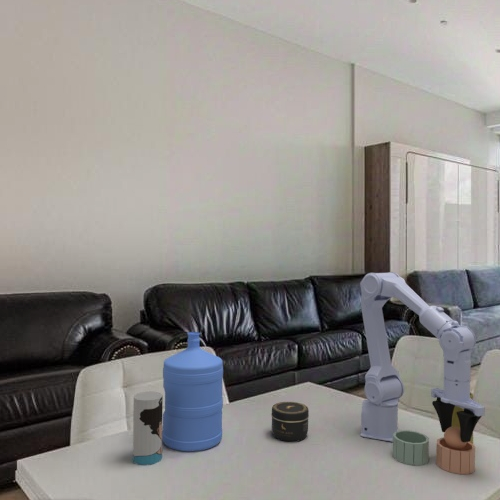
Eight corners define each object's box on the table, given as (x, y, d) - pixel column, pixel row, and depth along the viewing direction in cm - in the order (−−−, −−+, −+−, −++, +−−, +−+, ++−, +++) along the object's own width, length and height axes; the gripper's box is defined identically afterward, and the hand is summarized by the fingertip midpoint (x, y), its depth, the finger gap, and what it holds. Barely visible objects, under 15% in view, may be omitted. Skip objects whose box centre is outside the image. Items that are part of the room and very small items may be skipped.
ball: (443, 450, 111) (443, 428, 111) (444, 442, 115) (444, 421, 115) (466, 454, 109) (467, 432, 109) (467, 446, 113) (467, 425, 113)
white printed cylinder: (165, 461, 112) (165, 398, 112) (136, 467, 109) (137, 402, 109) (157, 450, 118) (158, 390, 118) (130, 455, 115) (130, 393, 115)
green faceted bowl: (390, 460, 114) (391, 440, 114) (395, 447, 122) (395, 428, 122) (427, 467, 111) (427, 446, 111) (429, 453, 118) (429, 433, 118)
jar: (265, 439, 126) (266, 410, 126) (278, 425, 135) (278, 399, 135) (302, 445, 122) (302, 416, 122) (312, 431, 132) (312, 403, 131)
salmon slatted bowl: (435, 469, 110) (436, 447, 110) (437, 455, 118) (437, 435, 118) (474, 476, 107) (475, 454, 107) (474, 461, 114) (474, 441, 114)
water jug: (234, 439, 125) (236, 333, 125) (187, 458, 114) (189, 341, 113) (196, 423, 136) (197, 325, 136) (149, 439, 125) (151, 332, 124)
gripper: (421, 372, 117) (420, 427, 117) (468, 389, 104) (466, 451, 104) (444, 369, 120) (443, 423, 120) (492, 386, 106) (491, 446, 106)
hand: (455, 436), depth 112 cm, fingers open, 5 cm apart
